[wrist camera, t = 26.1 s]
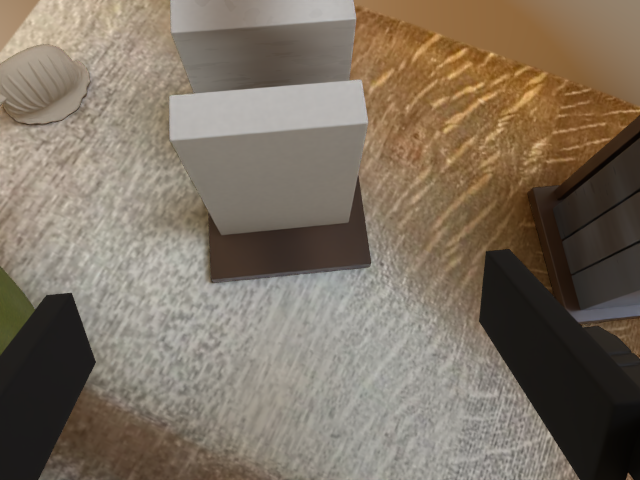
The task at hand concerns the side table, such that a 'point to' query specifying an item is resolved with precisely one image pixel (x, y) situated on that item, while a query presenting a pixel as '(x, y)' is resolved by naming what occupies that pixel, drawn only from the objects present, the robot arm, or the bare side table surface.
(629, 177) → the grey rack
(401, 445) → the side table surface
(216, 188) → the white book
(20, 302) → the flower pot
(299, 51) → the beige and brown bookend
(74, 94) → the decorative ornament
